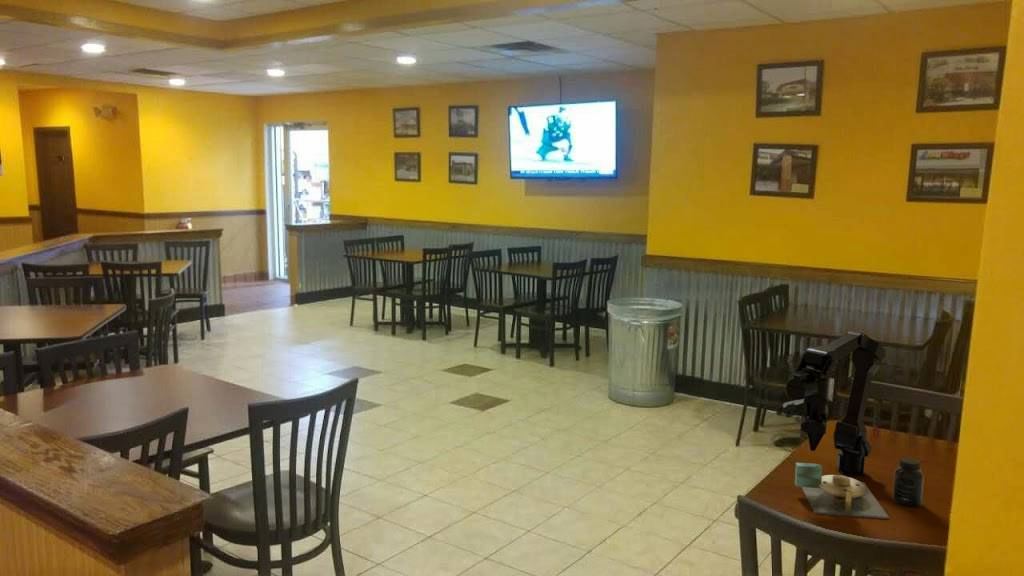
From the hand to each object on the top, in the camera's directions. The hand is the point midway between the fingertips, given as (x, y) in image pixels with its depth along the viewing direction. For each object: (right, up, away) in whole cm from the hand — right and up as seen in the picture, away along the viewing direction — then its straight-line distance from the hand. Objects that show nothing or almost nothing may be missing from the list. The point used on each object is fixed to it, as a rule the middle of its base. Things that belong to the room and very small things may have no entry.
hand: (813, 447), depth 204 cm
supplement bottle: (+22, -14, -8) cm, 27 cm away
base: (+5, -13, -5) cm, 15 cm away
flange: (+3, -10, -5) cm, 11 cm away
